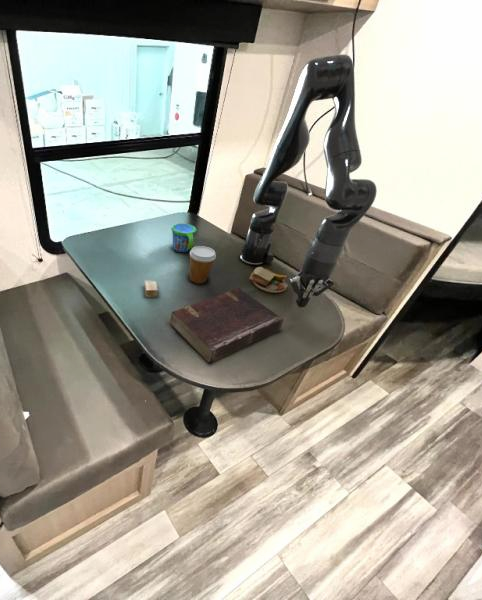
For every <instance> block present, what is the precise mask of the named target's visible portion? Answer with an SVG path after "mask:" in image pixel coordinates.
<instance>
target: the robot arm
mask: <svg viewBox="0 0 482 600" xmlns="http://www.w3.org/2000/svg"><path fill="white" fill-rule="evenodd" d="M355 81H356V80H355V67H354V61H353V58H351V56H350V55H349V54H343V53H342V54H333V55H328V56H320V57H315V58H311V59H309V61H307V62H306V63H305V65H304V67H303V68H302V70H301V72H300V74H299V77H298V80H297V83H296V86H295V88H294V93H293V96H292V99H291V102H290V105H289V110H288V112H287V114H286V117H285V120H284V122H283V124H282V127H281V130H280V132H279V134H278V136H277V139H276V141H275V144H274V145H273V149H272V151H271V154H270V157H269V159H268V162H267V164H266V167H265V169H264V171H263V173H262V175H261V177H260V179H259V181H258V183H257V185H256V187H255V191H254V194H253V202H254V203H255V204H256V205H258V206H262V207H268V208H266V209H263V210H259V211H257V212H254V213H253V214H252V217H251V220H250V222H249V223H250V224H249V227H248V229H247V230H248V231H247V234H246V236H245V237H246V238H245V241H244V244H243V248H242V249H241V255H240V260H241V261H242V262H243V263H244V264H247V265H250V266H261V265H265V264H266V262H267V263H268V264H270V263H273V261H274V256H275V255H274V254H273V252H272V251H271V250H270V249H271V246H272V242H271V239H272V237H273V233H274V230H275V227H276V224H277V221H278V220H279V216H280V214H281V211H282V208H283V206H284V203H285V201H286V198H287V195H288V192H289V191H288V190H289V185H288V183H287V181H281V180H276V179H277V178H279V177H280V176H282V175H283V174H285V173H287V172H288V171H290V170H291V169H293V168H294V167H295V166H296V165H298V163H299V162H300V161H301V160H302V158H303V156H304V154H305V153H306V150H307V148H308V147H309V144H310V140H311V133H310V130H309V125H308V123H307V117H306V116H307V112H308V110H309V107H310V105H311V104H312V103H313V102H315V101H316V102H317V101H324V100H330V99H331V100H332V101H333V106H334V113H333V117H332V119H331V121H330V124H329V126H328V128H327V130H326V133H325V134H324V139H323V154H324V160H325V165H326V169H327V171H326V177H325V178H326V179H325V189H324V200H325V203H326V204H327V206H328V207H329V208H330V209H332V210H334V211H336V213H334V214H331V215H329V216H325V218H324V217H323V219H322V221H321V223H320V225H319V228H318V230H317V231H316V235H315V237H314V239H313V240H312V241H311V243H310V246H309V249H308V251H307V253H306V256H305V258H304V259H303V260H304V261H303V263H302V269H301V270H300V271H299V272H298V275H297V276H295V277H289V278H288V282H289V285H290V286H291V288H292V290H293V292H294V293H295V294H296V295H297V299H296V301H295V304H296V305H297V307H298V308H305V307H306V306H307V305H308V303H309V302H310V299H311V298H312V297H318V296H320V295H321V294H323V293H324V292H326V291H327V290H328V289H331V288H332V286H334V285H335V282H334V281H333V280H332V279H331V278H330V276H331V275H332V273H333V272H334V269H335V267H336V265H337V263H338V262H339V260H340V257H341V255H342V253H343V251H344V247H345V244H346V243H347V240H348V239H349V236H350V234H351V232H352V230H353V229H354V227H356V225H358V223H359V222H360V221H361V219H362V218H363V217H364V216H365V215H366V213H367V212H368V211H369V210H370V208H371V207H372V205H373V204H374V202H375V200H376V198H377V191H378V190H377V186H376V183H375V182H374V181H373V180H371V179H368V178H367V179H366V178H351V176H350V175H351V174H352V173H353V172H355V171H357V170H358V169H360V167H361V165H362V163H363V159H362V158H363V157H362V153H361V148H360V143H359V139H358V134H357V133H358V132H357V127H356V88H355V87H356V85H355Z"/></svg>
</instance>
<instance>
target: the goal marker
mask: <svg viewBox="0 0 482 600" xmlns="http://www.w3.org/2000/svg"><path fill="white" fill-rule="evenodd" d="M143 287H144V295H145V298H158V293H159V292H158V291H159V289H158V285H157V281H156V280H144V286H143Z"/></svg>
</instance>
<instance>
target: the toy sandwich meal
mask: <svg viewBox="0 0 482 600" xmlns="http://www.w3.org/2000/svg"><path fill="white" fill-rule="evenodd" d="M287 277H288V276H287V275H282V274H278V273H275V272H273V271H272V270H270V269H269V268H264V267H262V266H257V267H256V268H254V270H253V272H252V273H251V274H250V275H249V281H251V282H252V283H253V284H254V285H255V287H256V288H258V289H259V290H260V291H263V292H266V293H270V294H278V293H279V294H280V293H282V292H285V291H286V290H287V289H288V287H289V284H287V282H286V281H285V279H286V278H287Z"/></svg>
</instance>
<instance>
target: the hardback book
mask: <svg viewBox="0 0 482 600" xmlns="http://www.w3.org/2000/svg"><path fill="white" fill-rule="evenodd" d="M283 323H284V318H283V317H282V316H279V314H277V313H276V312H274V311H273V310H272V309H270V308H268V307H267V306H266V305H264V304H263V303H261V302H260V301H259V300H257V299H256V298H254V297H253V296H252V295H250V294H248V293H247V292H246V291H244V290H243V289H241V288H240V287H238V288H235V289H233V290H229V291H227V292H224V293H221V294H218V295H216V296H212V297H210V298H207V299H204V300H201V301H199V302H196V303H193V304H190V305H187V306H184V307H182V308H179V309H176V310H173V311H171V314H170V322H169V324H170V325H171V326H172V327H173V328H174V329H175V330H176V331H177V333H179V334H180V335H181V336H182V337H183V338H184V339H185V340H186V341H187V342H188V343H189V344H190V345H191V346H192V347H193V348H194V349H195V350H196V351H197V352H198V353H199V354H200V356H202V357H203V359H204V360H206V361H207V363H209V364H210V363H213V362H215V361H217V360H218V359H219V360H220V359H221V358H223V357H225V356H227V355H230V354H231V353H234V352H236V351H238V350H240V349H242V348H244V347H246V346H249V345H252V344H253V343H255V342H256V341H260V340H262V339H263V338H265V337H267V336H270V335H272V334H274V333H276V332H279V331H280V330H281V328H282V326H283Z"/></svg>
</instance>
